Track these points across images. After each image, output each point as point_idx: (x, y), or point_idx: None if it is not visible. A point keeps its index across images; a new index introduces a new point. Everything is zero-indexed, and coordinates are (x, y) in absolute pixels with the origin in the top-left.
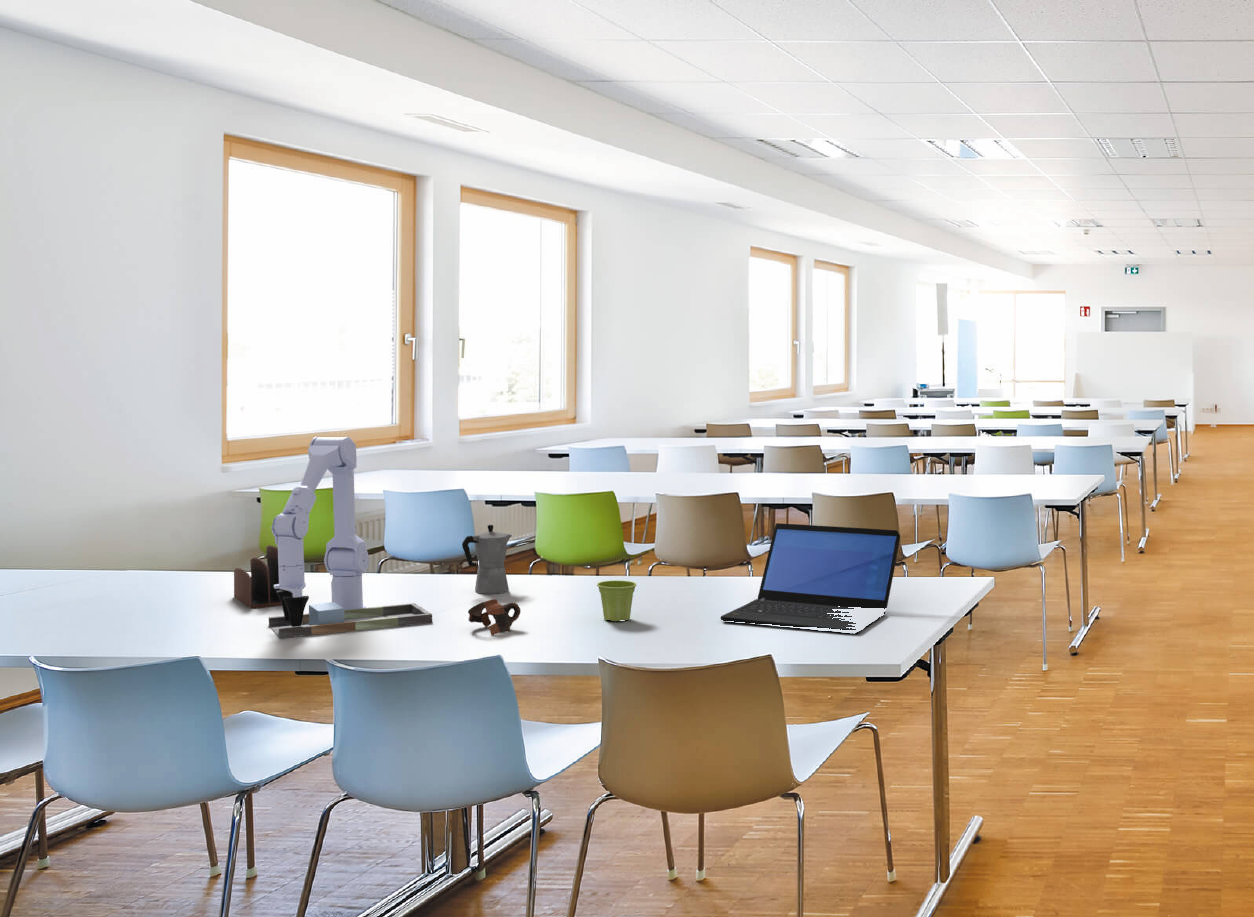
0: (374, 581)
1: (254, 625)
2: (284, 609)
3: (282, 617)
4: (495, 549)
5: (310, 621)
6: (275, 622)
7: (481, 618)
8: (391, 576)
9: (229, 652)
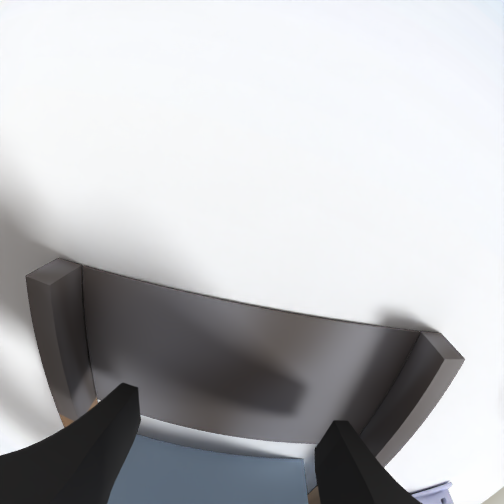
0: (489, 492)
1: (494, 274)
2: (356, 473)
3: (404, 417)
4: None
5: (281, 472)
6: (415, 371)
7: None
8: (484, 499)
9: (4, 14)
